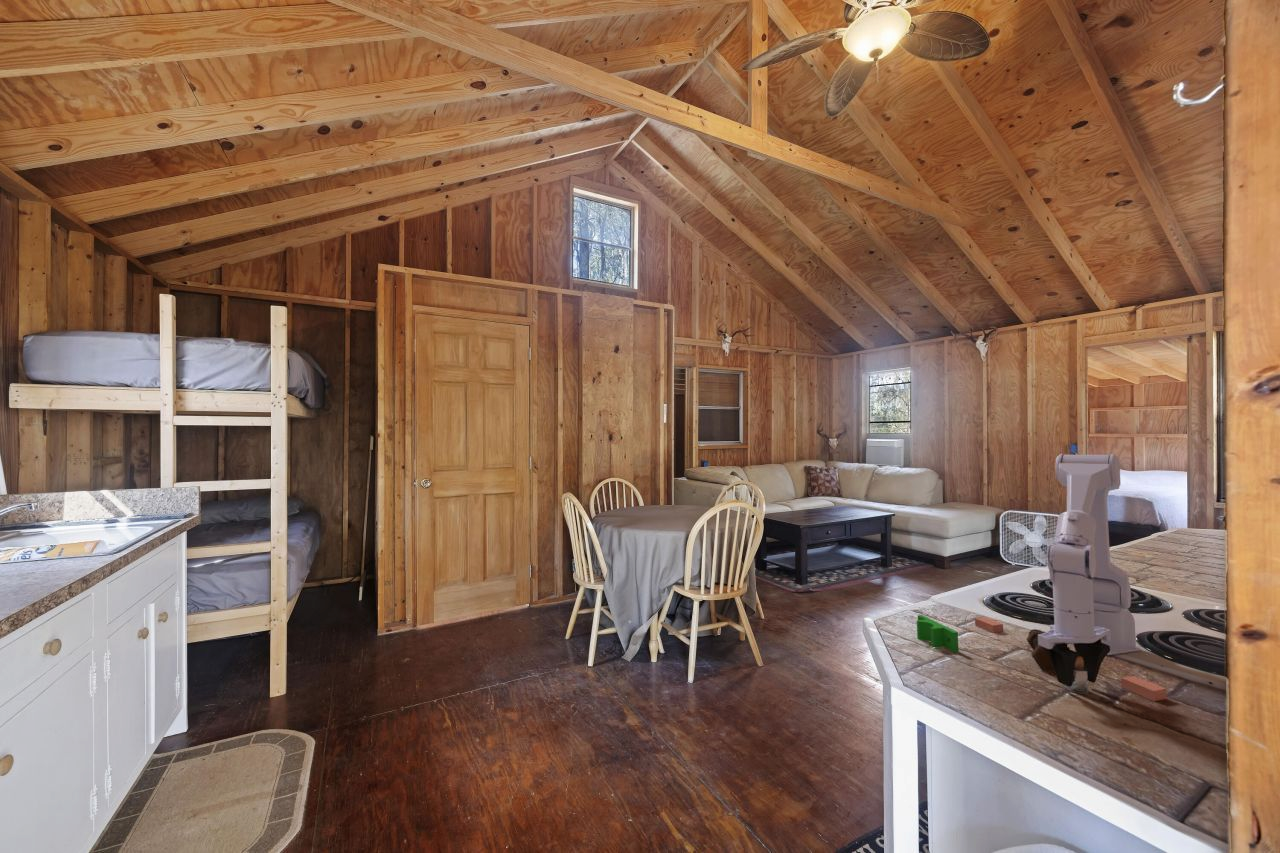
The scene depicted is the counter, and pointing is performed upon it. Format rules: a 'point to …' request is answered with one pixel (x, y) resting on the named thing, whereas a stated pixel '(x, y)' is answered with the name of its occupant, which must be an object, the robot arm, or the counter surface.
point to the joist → (989, 624)
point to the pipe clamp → (936, 633)
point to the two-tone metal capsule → (1079, 677)
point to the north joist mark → (1144, 688)
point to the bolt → (1039, 651)
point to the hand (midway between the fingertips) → (1076, 681)
